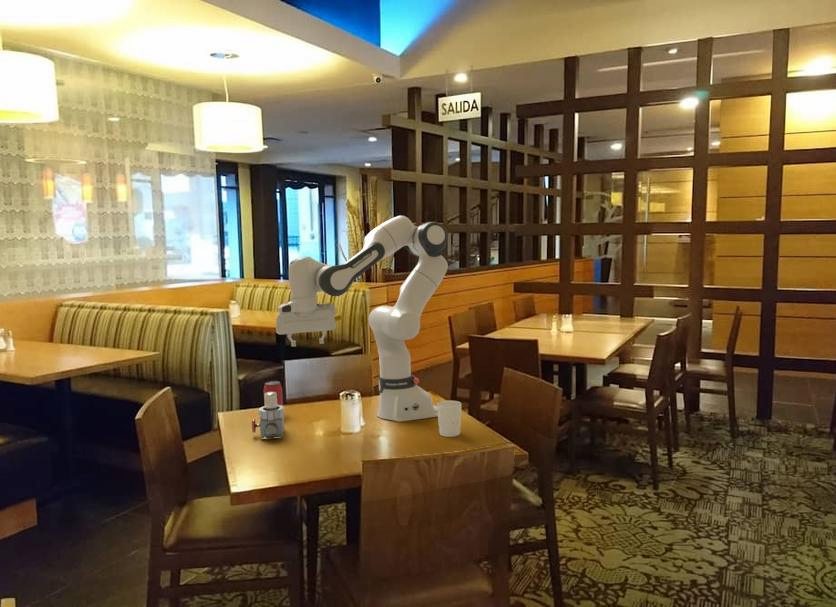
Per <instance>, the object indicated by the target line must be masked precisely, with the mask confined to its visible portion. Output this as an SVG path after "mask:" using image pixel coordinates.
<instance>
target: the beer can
mask: <svg viewBox="0 0 836 607" xmlns="http://www.w3.org/2000/svg"><path fill="white" fill-rule="evenodd" d="M267 392H276V393H277V405H281V406H283V407H284V401H283V400H284V399H283V397H284V396H283V387H282V385H281V381H278V380H270V381H267V382H265V383H264V386H263V394H264V393H267ZM263 401H264V402H263V403H264V405H265V399H264V398H263Z"/></svg>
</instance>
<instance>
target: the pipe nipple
mask: <svg viewBox="0 0 836 607" xmlns="http://www.w3.org/2000/svg"><path fill="white" fill-rule="evenodd" d="M264 399H265V404H264V406H265V410H267V411H270V410H277V409H278V408H277V393H276V392H267V393H264V392H263V400H264Z"/></svg>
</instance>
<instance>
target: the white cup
mask: <svg viewBox="0 0 836 607" xmlns="http://www.w3.org/2000/svg"><path fill="white" fill-rule="evenodd" d="M436 407H437V412H438V416H437V422H438V423H437V425H438V430H439V435H440V436H442V437H445V438H447V437H448V438H452V437H453V438H454V437H458V436H460V435H461V427H462V402H460V401H458V400H441V401H438V402H437V403H436Z"/></svg>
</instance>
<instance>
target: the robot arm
mask: <svg viewBox="0 0 836 607" xmlns="http://www.w3.org/2000/svg"><path fill="white" fill-rule="evenodd" d="M447 240H448V232H447V229H446V227H445V226H444V225H443V224H442V223H439V222H437V221H428V222H425V223H423V224H421V225H418V226H416V225H415V224H414V223H413V221H411V220H410V218H409V217H407V216H405V215H397V216H394V217H392V218H390V219H388V220H386V221H384V222H382V223H380V224H379V225H377V226H376V227H375V228H373V229H372V230H371V231H370V232H368V233H367V234H366V235H365V237H364V238H363V243H362V245H363V248H362V249H361V250H360V251H359V252H357V253H356V254H355V255H354V256H352V257H351V258H350V259H349V260H347V261H345V262H344V263H340V264H337V265H332V264H326V263H324V262H320V261H318V260H316V259H314V258H312V257H311V256H301V257H298V258H295V259H293V260H291V261H290V263H289V264H288V284H289V288H290V295H289V296H290V297H289V298H290V301H287V302H284V303H282V304H280V305H279V306H278V307H277V311H278V314H277V316H276V321H275V322H276V323H275V331H276V334H278V335H280V336H281V335H287V336H286V337H287V339H288V340H289V341H290V342H291V343H290V344H291V347H297V344H296V342H297V341H296V340H294V339H293V338H292V336H293V334H302V333H303V334H304V333H314V332H321V334H322V336H321V338H318V341H319V343H318V344H319V345H322V344H324V343H325V342H324V339H325V337H326V335H327V331H334V330H336V328H337V324H336V318H335V315H336V313H337V312H336V311H337V310H336V306H335V304H333V303H330V302H327V303H318V296H317V294H318V293H319V292H320V293H321V292H322V293H324V294H326V295H328V296H331V297H340V296H343V295H344V294H345V293H347V292H348V290H350V287H351V286H352V284H353V283H354V282H355V280H356V279H357V278H359V277H360V276H362V274H364V273H365V272H366V271H368V270H369V269H370V268H372V267H373V266H374V265H375V264H377V263H378V262H381V261H382V260H384V259H386V258H388V257H390V256H391V255H393V254H394V253H396V252H397V251H399V250H400V249H402V248H404V249H405V250H407V251H408V252H409V254H411V255H412V256H414V257H417V258H418V262H417V264H416V265H415V267H414V268H413V269H412V270H411V272H410V274H409V275H408V276H407V278H406V279H405V280H404V281H403V283H402V284H401V286H400V287H399V295H398V298H397V301H396V303H395V304H394V305H393V306H390V305H381V306H377V307H375V308H373V309H372V310H371V311H370V313H369V315H368V325H369V327H370V329H371V331H372V333H373V336H374V337H373V338H374V340H375V343H376V347H377V352H378V357H379V362H378V364H379V377H378V391H379V401H378V402H379V404H378V409H377V414H376V415H377V417H378V418H381V419H383V420H389V421H395V422H399V423H401V422H409V421H414V420H422V419H429V418H436V417H437V418H438V412H437V405H435V404H434V402H433V398H432V396H431V394H429V392H427V391H426V390H425V389H424V388H422V387H420V386H419V385H418V384H419V383H420V379H419V378H418V377H416V376H415V375H413V374H412V372H411V369H412V368H411V354H410V351H409V349H408V347H407V346H406V342H405V341H407V340H412V339H413V338H416V336H417V335H419V331H420V329H421V321H420V320H421V317H422V314H423V312H424V308H425V307H426V306H427V303H429V300H430V299H431V297H433V295H434V293H436V290H437V289H438V288H439V286H440V285H441V283H442V281H443V279H444V278H445V275H446V273H447V272H448V268H449V265H448V264H449V263H448V261H447V260H446V259H445V257H444V256H443V255H444V253H445V252H446V246H447V242H448V241H447Z"/></svg>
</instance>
